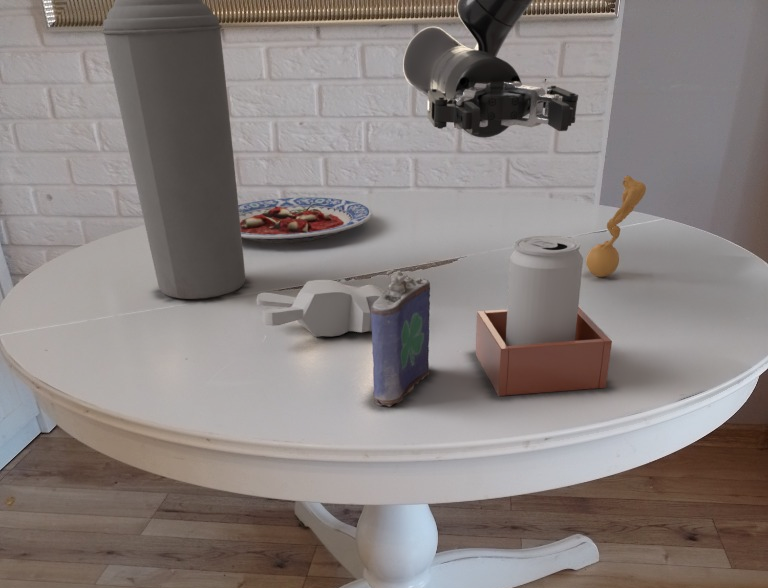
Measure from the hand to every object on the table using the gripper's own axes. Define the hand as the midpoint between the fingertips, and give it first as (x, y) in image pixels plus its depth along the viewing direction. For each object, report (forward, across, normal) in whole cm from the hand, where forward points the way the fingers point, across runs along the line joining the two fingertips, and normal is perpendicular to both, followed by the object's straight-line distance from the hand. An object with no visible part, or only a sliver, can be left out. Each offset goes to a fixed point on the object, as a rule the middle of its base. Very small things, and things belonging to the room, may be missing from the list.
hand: (521, 120), depth 73 cm
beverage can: (+11, 0, +20) cm, 23 cm away
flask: (+12, -13, +20) cm, 27 cm away
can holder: (+11, 0, +20) cm, 23 cm away
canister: (-24, -32, +23) cm, 46 cm away
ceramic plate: (-51, -20, +24) cm, 59 cm away
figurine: (-15, +18, +21) cm, 32 cm away
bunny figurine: (-4, -18, +21) cm, 28 cm away
